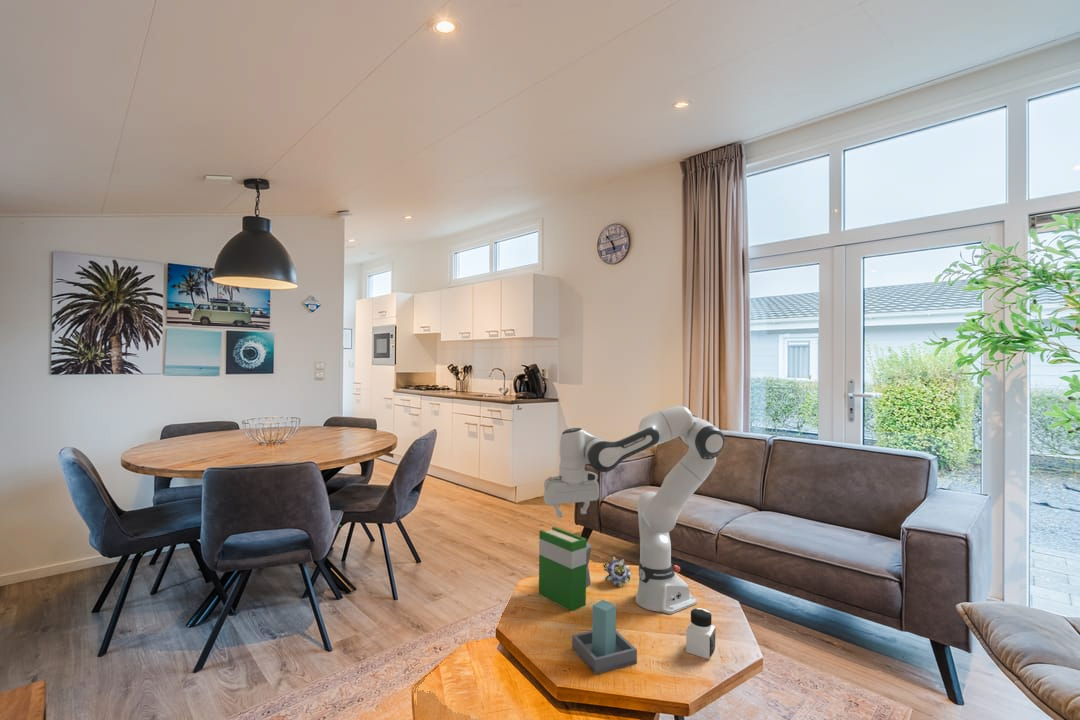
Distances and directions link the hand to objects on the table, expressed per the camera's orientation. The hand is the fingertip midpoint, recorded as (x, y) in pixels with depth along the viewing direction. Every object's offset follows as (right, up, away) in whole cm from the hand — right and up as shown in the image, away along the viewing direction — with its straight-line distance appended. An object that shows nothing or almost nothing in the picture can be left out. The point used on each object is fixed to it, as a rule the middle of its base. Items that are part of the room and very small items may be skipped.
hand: (571, 515), depth 170 cm
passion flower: (+20, -36, +28) cm, 50 cm away
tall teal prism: (+8, -34, -23) cm, 42 cm away
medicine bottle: (+38, -36, -20) cm, 56 cm away
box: (+8, -35, -23) cm, 42 cm away
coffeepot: (+5, -36, +28) cm, 46 cm away
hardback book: (-3, -36, +13) cm, 38 cm away
